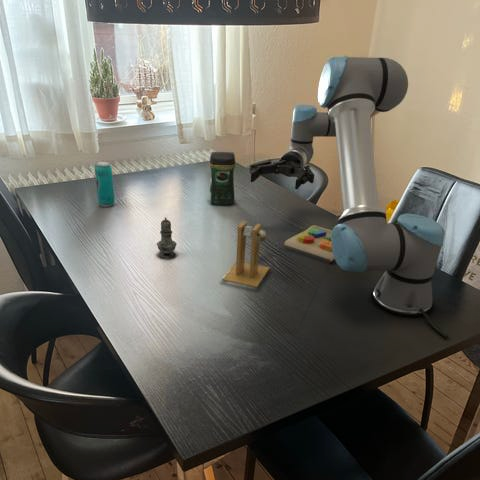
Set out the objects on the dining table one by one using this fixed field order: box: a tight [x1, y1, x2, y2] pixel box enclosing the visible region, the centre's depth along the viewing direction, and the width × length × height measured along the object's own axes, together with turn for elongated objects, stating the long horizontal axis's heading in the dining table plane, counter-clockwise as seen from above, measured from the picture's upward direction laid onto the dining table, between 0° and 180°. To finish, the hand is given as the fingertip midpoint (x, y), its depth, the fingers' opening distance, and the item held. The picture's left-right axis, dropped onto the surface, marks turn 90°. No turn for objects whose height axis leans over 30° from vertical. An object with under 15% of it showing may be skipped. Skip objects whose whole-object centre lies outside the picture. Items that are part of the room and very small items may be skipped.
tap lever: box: [243, 226, 267, 243], centre depth 139 cm, size 15×4×4 cm, turn 162°
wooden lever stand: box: [221, 220, 271, 289], centre depth 136 cm, size 12×10×16 cm
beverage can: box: [94, 160, 115, 208], centre depth 177 cm, size 6×6×15 cm
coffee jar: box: [208, 151, 237, 206], centre depth 184 cm, size 10×8×19 cm
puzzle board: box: [283, 225, 335, 263], centre depth 160 cm, size 18×19×3 cm
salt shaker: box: [156, 216, 177, 260], centre depth 147 cm, size 6×6×12 cm
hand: (274, 181), depth 145 cm, fingers open, 13 cm apart
